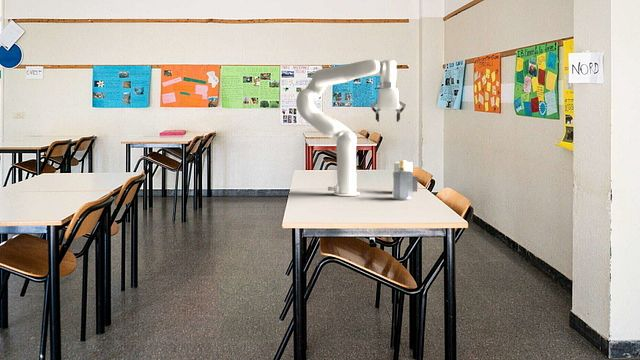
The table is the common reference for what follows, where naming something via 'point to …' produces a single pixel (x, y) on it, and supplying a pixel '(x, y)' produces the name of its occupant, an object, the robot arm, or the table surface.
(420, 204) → the table surface
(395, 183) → the pale grey carton
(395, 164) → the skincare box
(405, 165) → the plunger
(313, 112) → the robot arm
